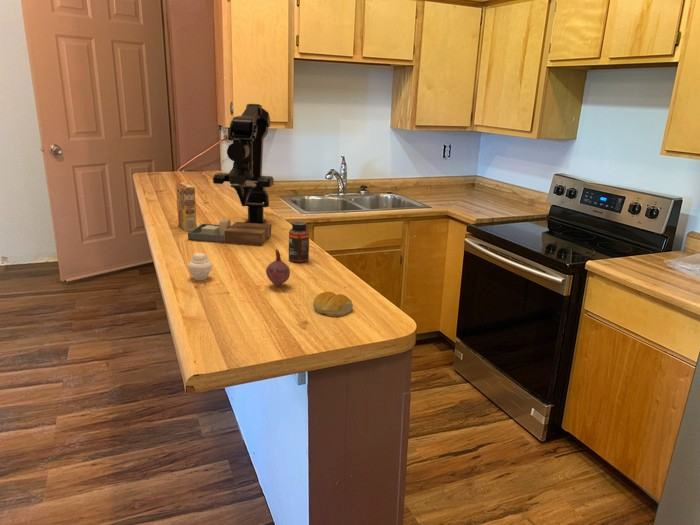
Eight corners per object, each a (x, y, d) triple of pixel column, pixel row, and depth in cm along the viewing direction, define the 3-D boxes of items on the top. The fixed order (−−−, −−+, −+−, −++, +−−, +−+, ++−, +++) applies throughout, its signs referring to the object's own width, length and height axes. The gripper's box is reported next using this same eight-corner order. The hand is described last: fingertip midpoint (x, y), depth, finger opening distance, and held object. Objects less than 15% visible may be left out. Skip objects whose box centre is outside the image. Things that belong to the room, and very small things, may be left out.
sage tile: (214, 229, 175) (214, 236, 176) (220, 226, 179) (220, 233, 180) (201, 228, 176) (201, 235, 177) (208, 225, 180) (208, 232, 181)
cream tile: (230, 232, 183) (223, 231, 183) (230, 219, 181) (223, 218, 181) (226, 235, 178) (219, 235, 178) (226, 222, 177) (219, 221, 177)
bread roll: (325, 300, 130) (326, 284, 129) (357, 309, 126) (358, 293, 124) (305, 310, 123) (305, 294, 122) (337, 320, 119) (338, 303, 118)
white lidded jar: (199, 284, 135) (198, 257, 133) (182, 278, 138) (181, 252, 136) (217, 277, 140) (217, 252, 138) (201, 272, 143) (200, 247, 141)
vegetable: (278, 280, 141) (278, 244, 138) (295, 286, 137) (296, 249, 134) (260, 286, 136) (260, 248, 133) (277, 292, 133) (278, 253, 130)
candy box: (197, 230, 184) (195, 186, 179) (185, 232, 182) (183, 187, 177) (189, 225, 191) (187, 182, 186) (177, 226, 189) (175, 182, 184)
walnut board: (236, 233, 184) (236, 221, 182) (271, 235, 183) (271, 224, 182) (224, 243, 171) (224, 231, 170) (261, 246, 170) (261, 233, 169)
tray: (202, 230, 185) (202, 223, 184) (235, 233, 184) (235, 226, 183) (188, 240, 172) (187, 232, 171) (223, 243, 171) (223, 235, 171)
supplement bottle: (311, 259, 160) (313, 222, 157) (303, 264, 155) (304, 226, 152) (293, 256, 162) (294, 219, 159) (284, 261, 157) (285, 223, 153)
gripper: (206, 159, 166) (207, 208, 170) (265, 163, 164) (265, 213, 169) (218, 155, 176) (219, 202, 181) (274, 159, 175) (273, 206, 179)
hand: (243, 206), depth 177 cm, fingers closed
